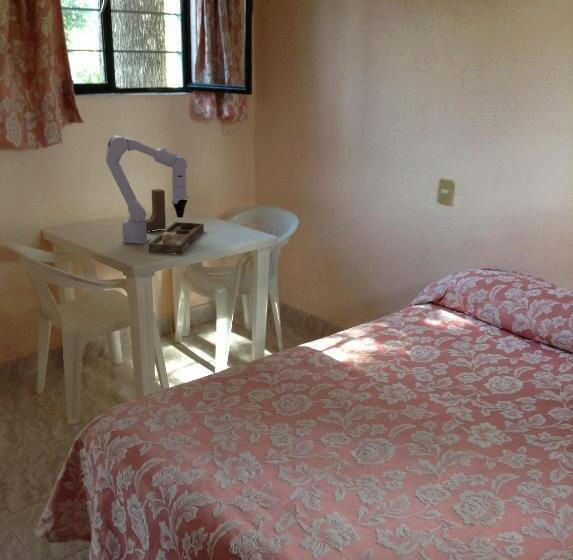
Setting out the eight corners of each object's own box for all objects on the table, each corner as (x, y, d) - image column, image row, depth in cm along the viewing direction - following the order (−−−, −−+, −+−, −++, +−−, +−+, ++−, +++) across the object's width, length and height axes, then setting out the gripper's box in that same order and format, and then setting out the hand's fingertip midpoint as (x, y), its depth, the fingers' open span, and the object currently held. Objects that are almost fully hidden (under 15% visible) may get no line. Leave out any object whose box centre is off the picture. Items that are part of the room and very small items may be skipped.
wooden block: (147, 232, 290) (145, 192, 284) (143, 230, 293) (141, 190, 287) (166, 230, 295) (164, 190, 289) (161, 228, 298) (160, 188, 292)
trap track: (149, 252, 262) (148, 243, 260) (175, 229, 296) (175, 221, 295) (180, 254, 260) (180, 245, 259) (203, 231, 295) (203, 223, 294)
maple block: (162, 245, 264) (162, 234, 263) (165, 242, 268) (165, 231, 267) (173, 246, 264) (173, 235, 262) (176, 243, 268) (176, 232, 266)
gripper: (183, 189, 267) (184, 221, 272) (193, 182, 281) (193, 213, 285) (167, 188, 268) (168, 220, 272) (177, 181, 282) (177, 213, 286)
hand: (180, 217), depth 279 cm, fingers closed
